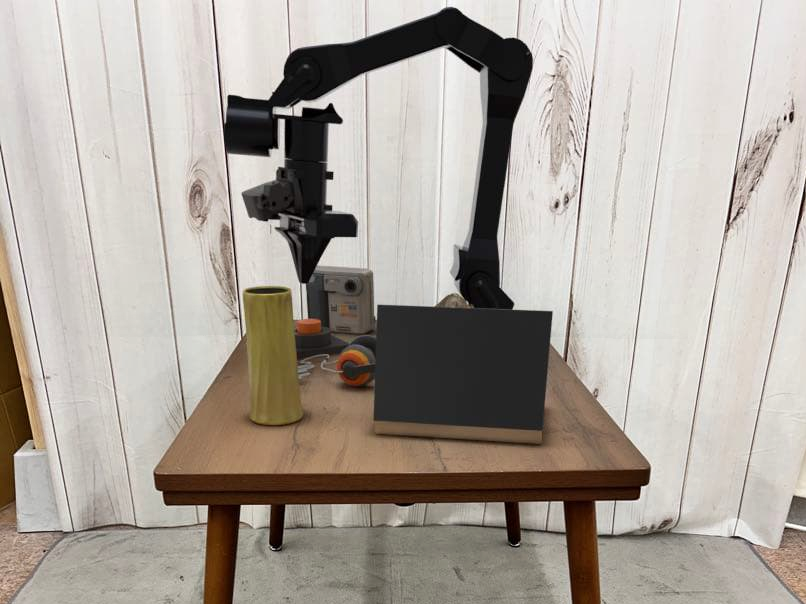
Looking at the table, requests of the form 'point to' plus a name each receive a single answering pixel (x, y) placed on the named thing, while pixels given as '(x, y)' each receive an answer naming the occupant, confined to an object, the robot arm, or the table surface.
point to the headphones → (351, 362)
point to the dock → (318, 343)
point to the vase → (272, 355)
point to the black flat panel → (462, 366)
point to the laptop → (458, 432)
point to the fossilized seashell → (453, 301)
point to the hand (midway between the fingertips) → (303, 283)
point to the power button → (308, 326)
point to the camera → (342, 299)
